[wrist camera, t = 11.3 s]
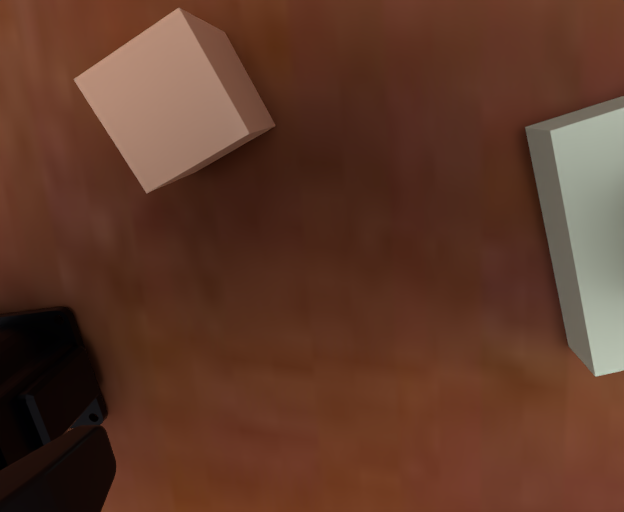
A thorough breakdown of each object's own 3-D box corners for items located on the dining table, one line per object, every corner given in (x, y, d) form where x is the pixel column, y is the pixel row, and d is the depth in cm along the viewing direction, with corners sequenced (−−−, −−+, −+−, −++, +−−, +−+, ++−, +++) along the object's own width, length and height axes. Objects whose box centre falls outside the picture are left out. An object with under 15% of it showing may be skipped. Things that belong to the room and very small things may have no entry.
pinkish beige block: (195, 171, 20) (146, 193, 15) (143, 85, 19) (73, 79, 14) (275, 125, 19) (249, 133, 14) (224, 31, 18) (179, 7, 13)
